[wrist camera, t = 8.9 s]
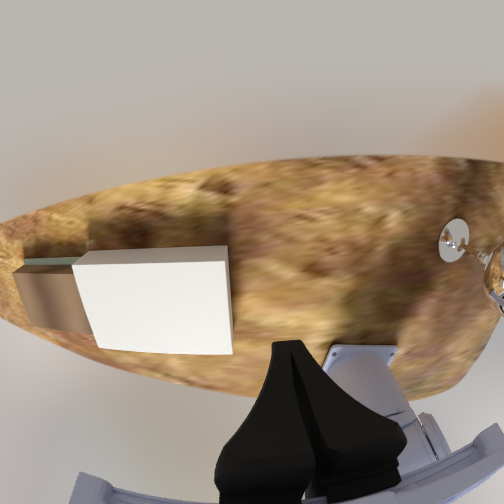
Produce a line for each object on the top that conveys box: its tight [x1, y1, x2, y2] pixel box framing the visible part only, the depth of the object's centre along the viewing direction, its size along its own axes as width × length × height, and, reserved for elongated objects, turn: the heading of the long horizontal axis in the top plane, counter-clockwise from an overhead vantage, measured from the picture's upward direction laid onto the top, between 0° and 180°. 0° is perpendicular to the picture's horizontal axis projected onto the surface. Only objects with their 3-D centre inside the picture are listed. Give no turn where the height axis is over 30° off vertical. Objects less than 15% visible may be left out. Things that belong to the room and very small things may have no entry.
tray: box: [72, 245, 234, 354], centre depth 21 cm, size 12×8×3 cm, turn 92°
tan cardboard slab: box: [13, 264, 93, 334], centre depth 21 cm, size 9×6×2 cm, turn 91°
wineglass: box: [438, 218, 504, 317], centre depth 15 cm, size 6×6×12 cm
